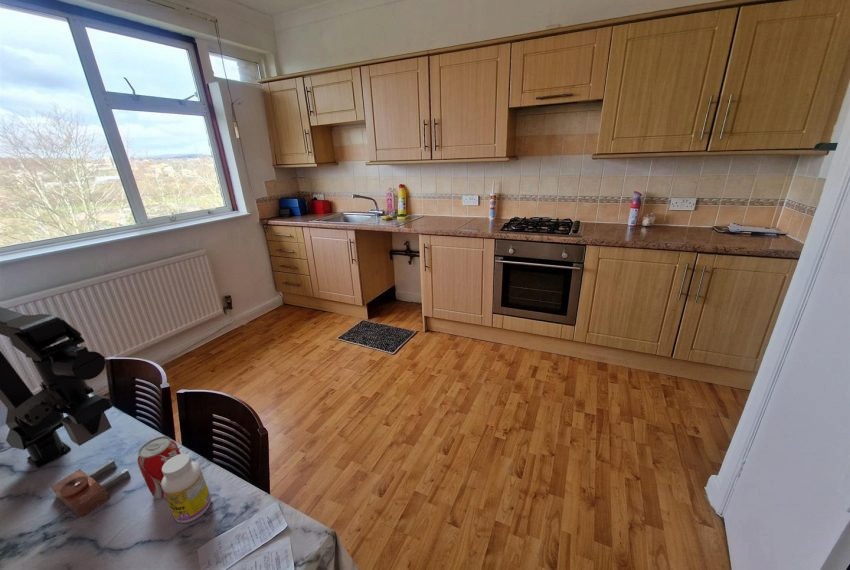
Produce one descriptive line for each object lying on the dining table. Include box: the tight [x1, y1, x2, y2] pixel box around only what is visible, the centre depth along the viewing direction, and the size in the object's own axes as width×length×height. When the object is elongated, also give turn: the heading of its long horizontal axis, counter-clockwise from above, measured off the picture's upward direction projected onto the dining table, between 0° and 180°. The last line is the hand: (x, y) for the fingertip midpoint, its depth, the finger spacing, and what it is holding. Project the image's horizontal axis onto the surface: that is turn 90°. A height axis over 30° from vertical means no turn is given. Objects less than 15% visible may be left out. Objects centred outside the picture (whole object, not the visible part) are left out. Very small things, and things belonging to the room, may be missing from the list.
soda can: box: [137, 435, 182, 500], centre depth 76 cm, size 7×7×12 cm
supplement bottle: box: [161, 453, 212, 524], centre depth 71 cm, size 7×7×13 cm
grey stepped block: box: [60, 411, 113, 447], centre depth 79 cm, size 4×6×7 cm, turn 154°
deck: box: [50, 459, 131, 519], centre depth 78 cm, size 12×10×4 cm
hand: (90, 430), depth 80 cm, fingers closed on grey stepped block, 4 cm apart
